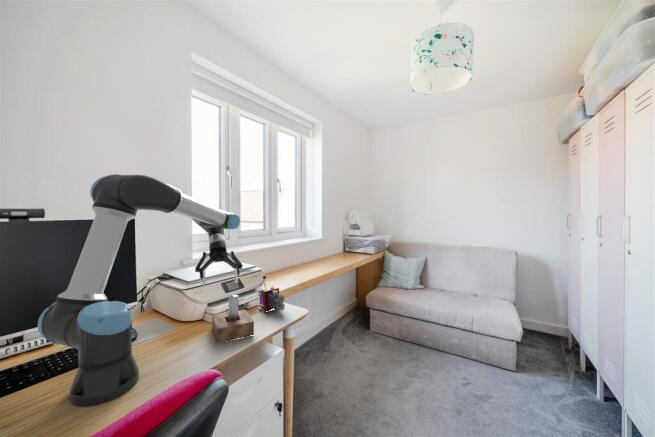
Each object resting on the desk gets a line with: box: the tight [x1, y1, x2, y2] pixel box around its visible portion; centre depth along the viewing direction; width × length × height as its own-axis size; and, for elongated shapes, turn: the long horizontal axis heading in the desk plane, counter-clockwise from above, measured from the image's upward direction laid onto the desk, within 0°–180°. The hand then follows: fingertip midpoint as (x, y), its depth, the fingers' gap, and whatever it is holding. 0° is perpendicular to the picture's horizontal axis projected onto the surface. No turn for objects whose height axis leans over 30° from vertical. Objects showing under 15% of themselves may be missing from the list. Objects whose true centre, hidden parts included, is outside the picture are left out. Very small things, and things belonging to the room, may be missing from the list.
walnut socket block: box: [211, 309, 255, 345], centre depth 109 cm, size 14×14×6 cm
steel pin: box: [227, 294, 240, 322], centre depth 108 cm, size 4×4×14 cm
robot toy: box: [257, 275, 286, 314], centre depth 133 cm, size 17×9×20 cm
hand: (221, 283), depth 115 cm, fingers open, 13 cm apart
